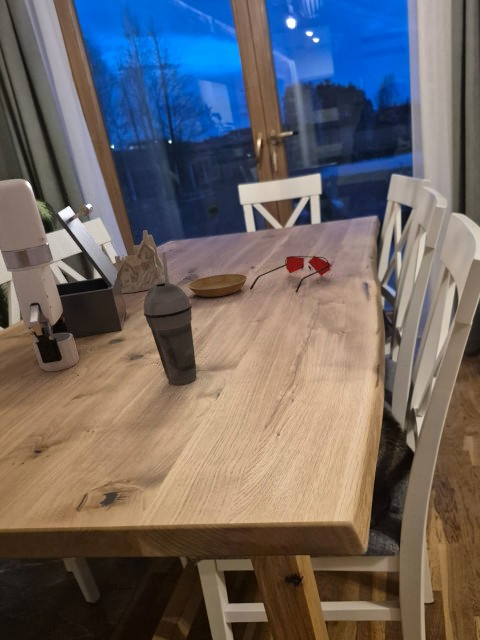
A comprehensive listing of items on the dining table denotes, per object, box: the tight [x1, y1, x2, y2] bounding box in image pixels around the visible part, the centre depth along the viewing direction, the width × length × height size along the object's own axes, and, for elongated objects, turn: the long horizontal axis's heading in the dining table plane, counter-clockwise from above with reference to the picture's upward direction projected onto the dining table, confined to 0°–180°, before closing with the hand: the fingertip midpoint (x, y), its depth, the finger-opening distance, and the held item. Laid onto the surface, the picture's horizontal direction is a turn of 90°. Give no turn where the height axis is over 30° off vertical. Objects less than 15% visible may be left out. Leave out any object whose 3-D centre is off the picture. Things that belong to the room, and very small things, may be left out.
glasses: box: [249, 255, 332, 294], centre depth 142 cm, size 14×16×5 cm
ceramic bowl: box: [31, 333, 80, 372], centre depth 105 cm, size 7×7×5 cm
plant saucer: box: [186, 273, 248, 298], centre depth 143 cm, size 15×15×3 cm
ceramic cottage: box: [112, 229, 170, 295], centre depth 156 cm, size 16×16×15 cm
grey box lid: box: [54, 203, 118, 287], centre depth 120 cm, size 17×14×5 cm
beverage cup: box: [143, 252, 198, 386], centre depth 88 cm, size 7×7×20 cm
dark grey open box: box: [41, 276, 128, 339], centre depth 125 cm, size 16×14×9 cm
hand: (58, 352), depth 105 cm, fingers open, 9 cm apart
